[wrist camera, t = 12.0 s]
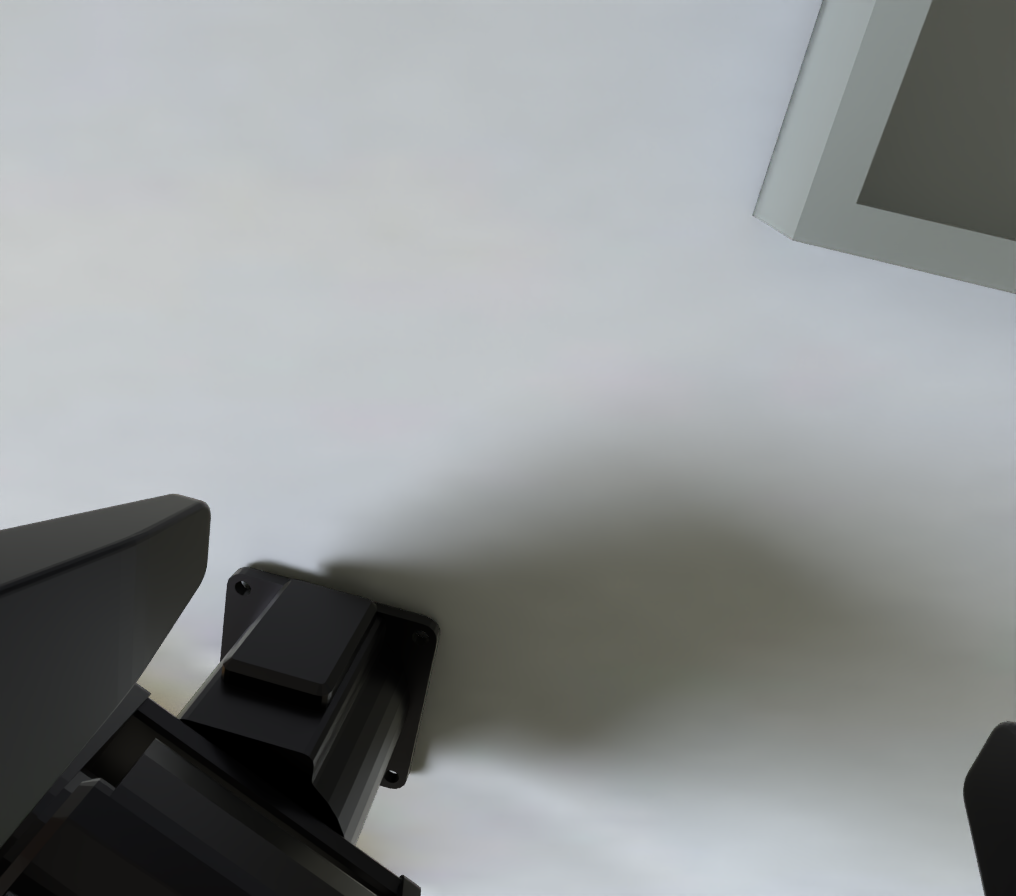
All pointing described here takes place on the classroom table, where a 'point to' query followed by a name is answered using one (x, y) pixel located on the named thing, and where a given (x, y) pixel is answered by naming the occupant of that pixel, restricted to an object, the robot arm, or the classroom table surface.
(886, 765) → the classroom table surface
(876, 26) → the bin
